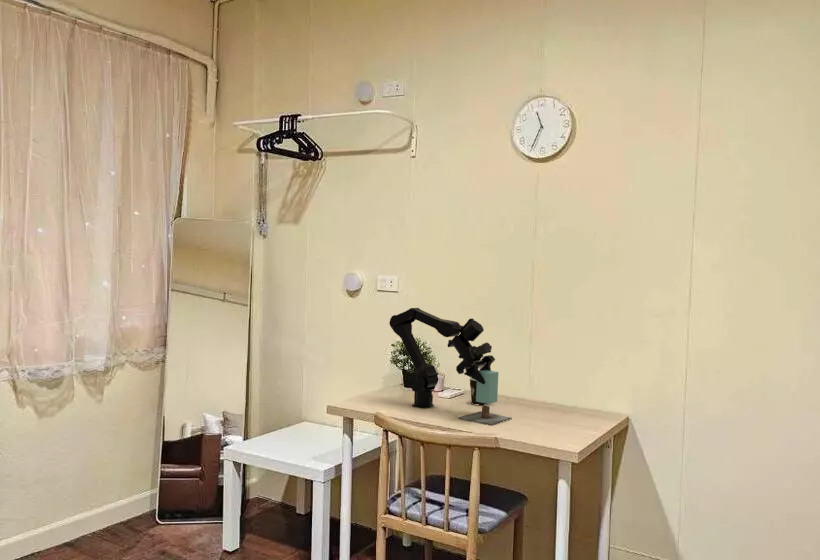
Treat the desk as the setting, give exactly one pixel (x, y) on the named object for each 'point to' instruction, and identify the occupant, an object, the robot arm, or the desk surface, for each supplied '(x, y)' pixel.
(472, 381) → the coffee mug
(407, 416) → the desk surface
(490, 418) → the flat grey base tile
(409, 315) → the robot arm
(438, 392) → the desk surface
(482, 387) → the teal rectangular pillar
